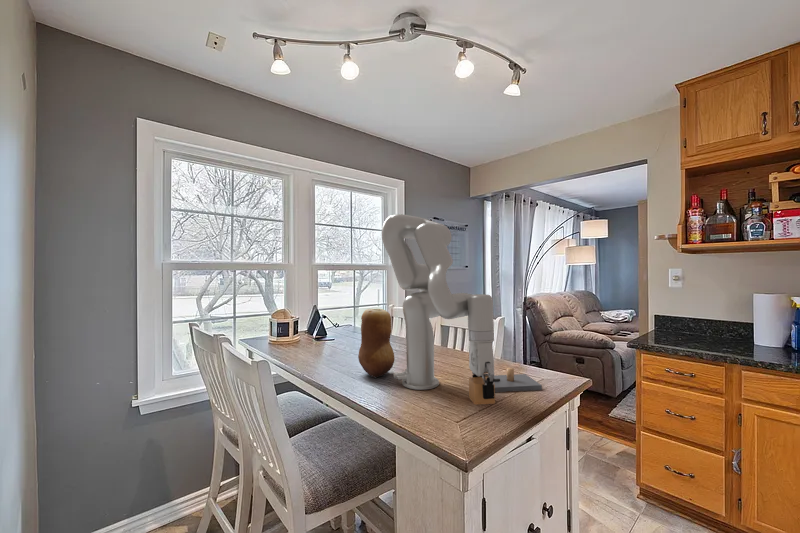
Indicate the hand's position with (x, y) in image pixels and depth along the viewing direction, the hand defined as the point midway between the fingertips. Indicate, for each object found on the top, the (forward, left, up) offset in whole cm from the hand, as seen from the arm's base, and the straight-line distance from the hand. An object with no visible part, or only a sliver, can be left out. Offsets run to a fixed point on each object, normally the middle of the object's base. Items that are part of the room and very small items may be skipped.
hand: (483, 392), depth 105 cm
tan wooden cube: (0, 0, -2) cm, 2 cm away
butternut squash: (-31, +29, -3) cm, 43 cm away
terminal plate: (+14, +12, -2) cm, 19 cm away
